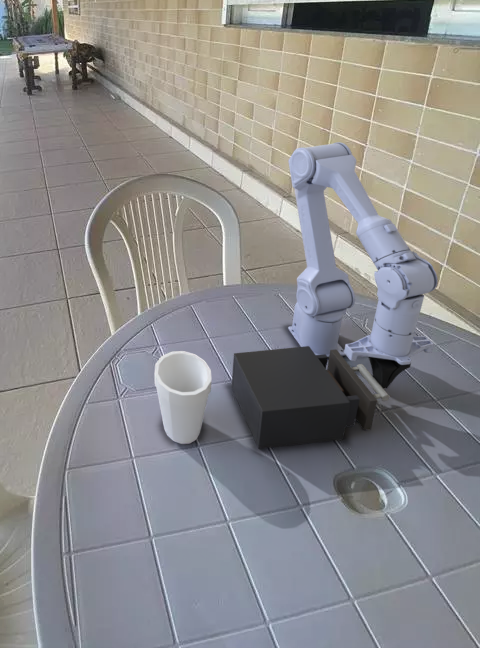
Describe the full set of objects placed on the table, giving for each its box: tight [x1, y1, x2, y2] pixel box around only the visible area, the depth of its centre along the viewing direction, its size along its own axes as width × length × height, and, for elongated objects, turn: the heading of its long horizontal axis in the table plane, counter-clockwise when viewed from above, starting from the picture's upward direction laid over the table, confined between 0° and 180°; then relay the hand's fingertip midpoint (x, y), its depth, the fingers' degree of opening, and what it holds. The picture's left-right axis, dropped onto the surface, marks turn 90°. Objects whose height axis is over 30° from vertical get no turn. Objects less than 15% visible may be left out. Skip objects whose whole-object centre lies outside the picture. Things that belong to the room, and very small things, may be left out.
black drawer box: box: [230, 346, 350, 449], centre depth 76 cm, size 15×13×9 cm
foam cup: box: [154, 350, 212, 445], centre depth 73 cm, size 10×9×13 cm
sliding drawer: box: [316, 349, 391, 431], centre depth 76 cm, size 18×11×7 cm, turn 94°
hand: (380, 384), depth 76 cm, fingers closed
